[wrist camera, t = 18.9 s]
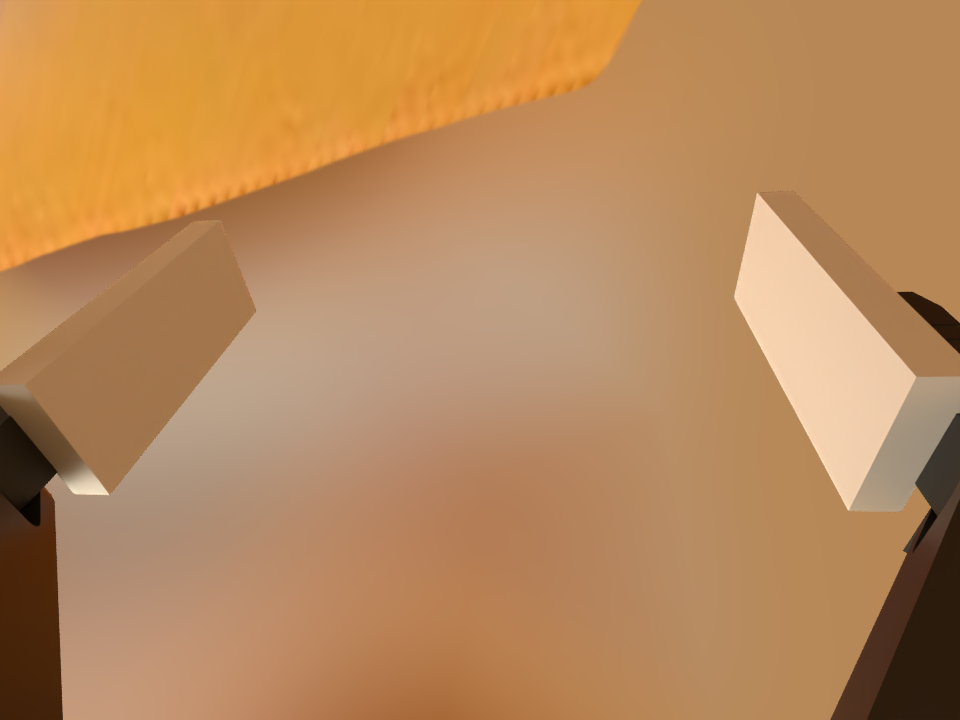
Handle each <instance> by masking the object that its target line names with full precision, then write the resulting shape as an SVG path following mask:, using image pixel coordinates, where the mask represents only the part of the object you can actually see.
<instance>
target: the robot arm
mask: <svg viewBox="0 0 960 720" xmlns="http://www.w3.org/2000/svg"><path fill="white" fill-rule="evenodd" d="M734 299H735V300H736V302H737V304H738V306H739V308H740V310H741V312H742V313H743V315H744V317H745V319H746V321H747V323H748V324H749V327H750V328H751V330H752V332H753V334H754V336H755V338H756V339H757V341H758V343H759V345H760V347H761V349H762V351H763V352H764V354H765V356H766V358H767V360H768V362H769V364H770V365H771V367H772V369H773V371H774V373H775V375H776V377H777V378H778V381H779V382H780V384H781V386H782V388H783V390H784V392H785V394H786V395H787V397H788V399H789V401H790V403H791V405H792V407H793V408H794V410H795V412H796V414H797V416H798V418H799V419H800V421H801V423H802V425H803V427H804V429H805V431H806V433H807V434H808V436H809V438H810V440H811V442H812V444H813V446H814V447H815V449H816V451H817V453H818V455H819V457H820V459H821V461H822V462H823V464H824V466H825V468H826V470H827V472H828V474H829V475H830V477H831V479H832V481H833V483H834V485H835V486H836V488H837V490H838V492H839V494H840V496H841V498H842V500H843V501H844V503H845V505H846V507H847V509H848V511H884V512H885V511H887V512H901V511H902V509H903V507H904V505H905V504H906V502H907V501H908V499H909V497H910V496H911V494H912V492H913V491H914V489H915V487H916V486H917V487H918V489H919V490H920V492H921V493H922V495H923V496H924V497H925V499H926V500H927V502H928V503H929V505H930V506H931V509H930V510H929V511H928V513H927V515H926V516H925V518H924V519H923V521H922V522H921V524H920V525H919V527H918V528H917V530H916V532H915V533H914V535H913V536H912V538H911V539H910V541H909V542H908V544H907V545H906V547H905V548H904V550H903V551H904V552H906V553H907V555H906V557H905V559H904V562H903V564H902V566H901V568H900V570H899V572H898V575H897V577H896V579H895V581H894V583H893V586H892V587H891V590H890V592H889V594H888V596H887V598H886V600H885V603H884V605H883V607H882V609H881V611H880V614H879V616H878V618H877V620H876V622H875V625H874V626H873V629H872V631H871V633H870V635H869V637H868V639H867V642H866V644H865V646H864V648H863V650H862V652H861V655H860V657H859V659H858V661H857V664H856V665H855V668H854V670H853V672H852V674H851V676H850V679H849V681H848V683H847V685H846V687H845V689H844V691H843V693H842V696H841V698H840V700H839V702H838V705H837V707H836V709H835V711H834V713H833V715H832V718H831V720H960V323H959V322H958V321H957V320H956V319H955V318H953V317H952V316H951V315H950V314H949V313H948V312H947V311H946V310H945V309H944V308H942V307H941V306H939V305H937V304H935V303H933V302H932V301H930V300H928V299H926V298H923V297H922V296H920V295H918V294H916V293H914V292H896V291H895V290H894V289H893V288H892V287H891V286H890V285H889V284H888V283H887V282H886V281H885V280H884V279H883V278H882V277H881V276H880V275H878V273H876V271H874V270H873V269H872V268H871V267H870V266H869V265H868V264H867V263H866V262H865V261H864V260H863V259H862V258H861V257H860V256H859V255H858V254H857V253H856V252H855V251H854V250H853V249H852V248H851V247H850V246H849V245H848V244H847V243H846V242H845V241H844V240H843V239H842V238H841V237H840V236H839V235H838V234H837V233H836V232H835V231H834V230H833V229H832V228H831V227H830V226H828V224H827V223H826V222H824V220H823V219H821V217H819V215H818V214H816V213H815V212H814V211H813V210H812V209H811V208H810V207H809V206H808V205H807V204H806V203H805V202H804V201H803V200H802V199H801V198H800V197H799V196H798V195H797V194H796V193H795V192H794V191H780V192H760V193H757V197H756V201H755V205H754V210H753V214H752V219H751V224H750V228H749V233H748V238H747V242H746V246H745V251H744V255H743V260H742V264H741V269H740V273H739V278H738V282H737V287H736V291H735V296H734ZM255 312H256V309H255V306H254V303H253V301H252V298H251V296H250V293H249V291H248V288H247V286H246V283H245V281H244V278H243V276H242V273H241V271H240V268H239V266H238V263H237V261H236V258H235V256H234V253H233V251H232V248H231V246H230V243H229V241H228V238H227V236H226V233H225V231H224V228H223V225H222V223H221V221H220V220H216V221H215V220H214V221H196V222H192V223H191V224H189V225H188V226H187V227H186V228H185V229H183V230H182V231H181V232H179V233H178V234H177V235H175V236H174V237H173V238H171V239H170V240H169V241H168V242H166V243H165V244H164V245H163V246H161V247H160V248H159V249H157V250H156V251H155V252H153V253H152V254H151V255H150V256H148V257H147V258H146V259H144V260H143V261H142V262H141V263H139V264H138V265H137V266H135V267H134V268H133V269H132V270H130V271H129V272H128V273H126V274H125V275H124V276H123V277H121V278H120V279H119V280H117V281H116V282H115V283H114V284H113V285H111V286H110V287H108V288H107V289H106V290H105V291H103V292H102V293H101V294H99V295H98V296H97V297H96V298H94V299H93V300H92V301H90V302H89V303H88V304H87V305H85V306H84V307H83V308H81V309H80V310H79V311H78V312H76V313H75V314H74V315H72V316H71V317H70V318H69V319H67V320H66V321H65V322H63V323H62V324H61V325H59V326H58V327H57V328H56V329H54V330H53V331H52V332H50V333H49V334H48V335H47V336H45V337H44V338H43V339H41V340H40V341H39V342H38V343H36V344H35V345H34V346H32V347H31V348H30V349H29V350H27V351H26V352H25V353H23V354H22V355H21V356H20V357H18V358H17V359H16V360H14V361H13V362H12V363H11V364H9V365H8V366H7V367H6V368H4V369H3V370H2V371H0V720H63V712H62V686H61V660H60V633H59V607H58V582H57V554H56V531H55V530H56V529H55V502H54V499H53V497H52V495H51V494H50V493H49V492H48V491H47V489H46V488H45V487H44V486H45V485H46V484H47V483H48V482H49V481H50V480H51V479H52V477H54V475H55V474H56V473H57V474H58V475H59V476H60V478H61V479H62V480H63V481H64V482H65V484H66V485H67V486H68V487H69V488H70V490H71V491H72V492H73V493H74V494H90V495H110V494H111V493H112V492H113V490H114V489H115V488H116V487H117V485H118V484H119V483H120V482H121V480H122V479H123V478H124V476H125V475H126V474H127V473H128V471H129V470H130V469H131V468H132V466H133V465H134V464H135V463H136V461H137V460H138V459H139V458H140V456H141V455H142V454H143V453H144V451H145V450H146V449H147V447H148V446H149V445H150V444H151V443H152V441H153V440H154V439H155V438H156V436H157V435H158V434H159V433H160V431H161V430H162V429H163V428H164V426H165V425H166V424H167V422H168V421H169V420H170V419H171V417H172V416H173V415H174V414H175V412H176V411H177V410H178V409H179V407H180V406H181V405H182V404H183V402H184V401H185V400H186V399H187V397H188V396H189V395H190V394H191V392H192V391H193V390H194V389H195V387H196V386H197V385H198V384H199V382H200V381H201V380H202V379H203V377H204V376H205V375H206V373H207V372H208V371H209V370H210V369H211V367H212V366H213V365H214V363H215V362H216V361H217V360H218V358H219V357H220V356H221V355H222V353H223V352H224V351H225V350H226V348H227V347H228V346H229V345H230V343H231V342H232V341H233V340H234V338H235V337H236V336H237V335H238V333H239V332H240V331H241V330H242V328H243V327H244V326H245V325H246V323H247V322H248V321H249V320H250V318H251V317H252V316H253V315H254V313H255Z"/></svg>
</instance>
